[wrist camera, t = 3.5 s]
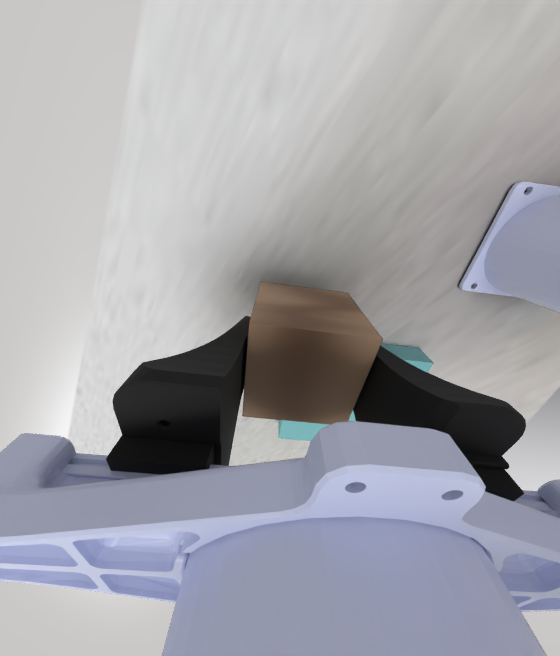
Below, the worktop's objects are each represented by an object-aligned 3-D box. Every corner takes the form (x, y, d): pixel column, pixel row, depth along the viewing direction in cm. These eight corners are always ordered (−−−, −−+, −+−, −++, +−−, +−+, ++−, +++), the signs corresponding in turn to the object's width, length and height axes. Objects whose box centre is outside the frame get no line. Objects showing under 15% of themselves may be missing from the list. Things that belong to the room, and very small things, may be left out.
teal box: (416, 345, 23) (433, 362, 21) (375, 425, 29) (384, 446, 27) (294, 331, 22) (295, 348, 20) (278, 417, 29) (278, 438, 26)
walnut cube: (347, 292, 13) (382, 338, 8) (327, 361, 15) (345, 426, 11) (260, 281, 12) (249, 322, 8) (254, 353, 15) (242, 416, 10)
